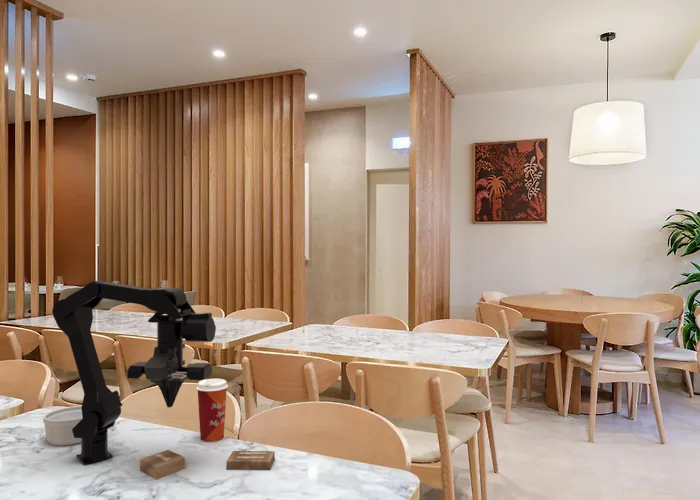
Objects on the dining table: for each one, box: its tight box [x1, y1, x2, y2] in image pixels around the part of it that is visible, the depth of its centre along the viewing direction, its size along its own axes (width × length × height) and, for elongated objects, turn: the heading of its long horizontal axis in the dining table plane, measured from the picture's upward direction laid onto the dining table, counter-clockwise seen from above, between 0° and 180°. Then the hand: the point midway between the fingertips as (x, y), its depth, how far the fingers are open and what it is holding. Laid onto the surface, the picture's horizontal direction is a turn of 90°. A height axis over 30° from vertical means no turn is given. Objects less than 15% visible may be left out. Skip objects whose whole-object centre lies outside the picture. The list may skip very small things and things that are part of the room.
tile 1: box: [139, 449, 186, 480], centre depth 113 cm, size 7×7×3 cm
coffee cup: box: [195, 378, 229, 443], centre depth 133 cm, size 8×8×15 cm
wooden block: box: [225, 450, 276, 471], centre depth 116 cm, size 3×6×10 cm
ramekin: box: [42, 405, 83, 446], centre depth 133 cm, size 13×13×7 cm
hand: (169, 406), depth 118 cm, fingers closed
